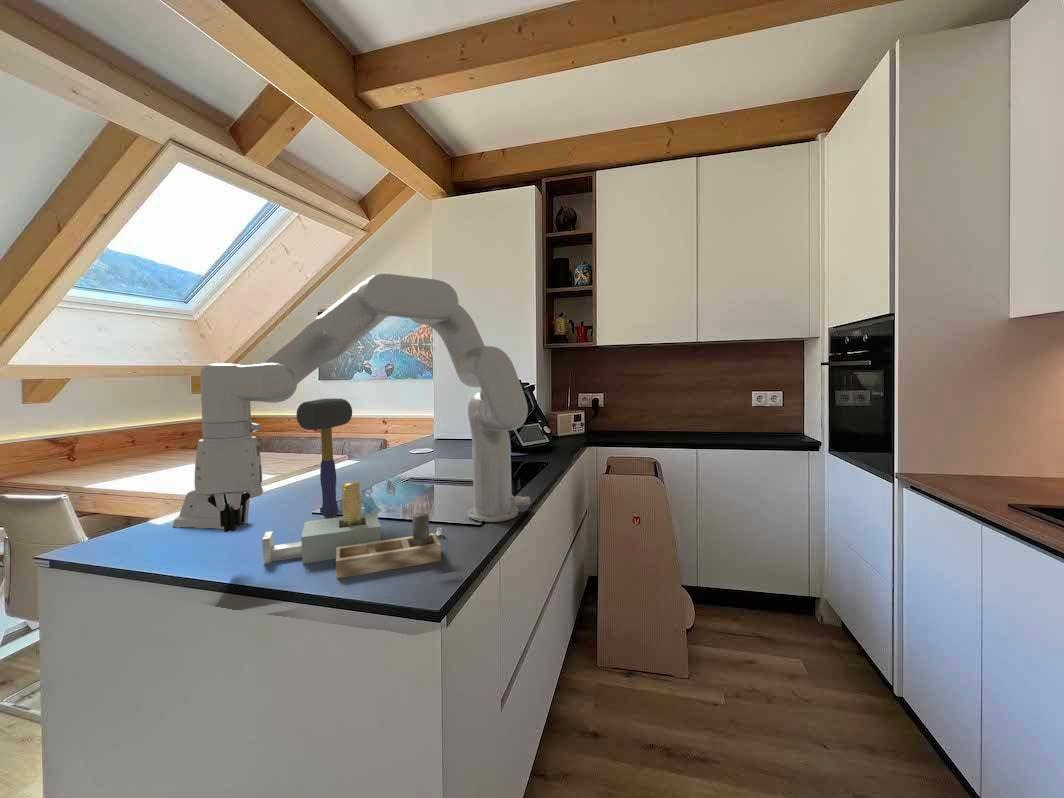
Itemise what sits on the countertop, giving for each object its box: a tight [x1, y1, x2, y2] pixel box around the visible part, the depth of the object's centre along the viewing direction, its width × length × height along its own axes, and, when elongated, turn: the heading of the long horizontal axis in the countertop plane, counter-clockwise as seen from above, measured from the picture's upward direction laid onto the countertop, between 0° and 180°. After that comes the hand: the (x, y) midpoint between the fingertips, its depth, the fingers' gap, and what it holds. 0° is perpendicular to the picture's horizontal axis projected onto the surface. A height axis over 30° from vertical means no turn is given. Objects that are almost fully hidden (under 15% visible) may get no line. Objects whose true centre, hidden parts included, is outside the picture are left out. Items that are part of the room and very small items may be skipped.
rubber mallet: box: [296, 398, 353, 519], centre depth 118 cm, size 12×8×30 cm, turn 159°
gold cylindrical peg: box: [341, 481, 362, 527], centre depth 95 cm, size 3×3×13 cm
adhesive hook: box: [435, 527, 443, 539], centre depth 101 cm, size 3×3×3 cm
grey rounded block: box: [172, 489, 250, 530], centre depth 116 cm, size 17×5×10 cm, turn 81°
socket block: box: [300, 512, 382, 565], centre depth 95 cm, size 14×10×6 cm
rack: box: [335, 512, 442, 579], centre depth 87 cm, size 18×7×9 cm, turn 112°
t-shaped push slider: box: [262, 530, 302, 565], centre depth 91 cm, size 8×4×5 cm, turn 112°
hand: (231, 529), depth 87 cm, fingers closed
